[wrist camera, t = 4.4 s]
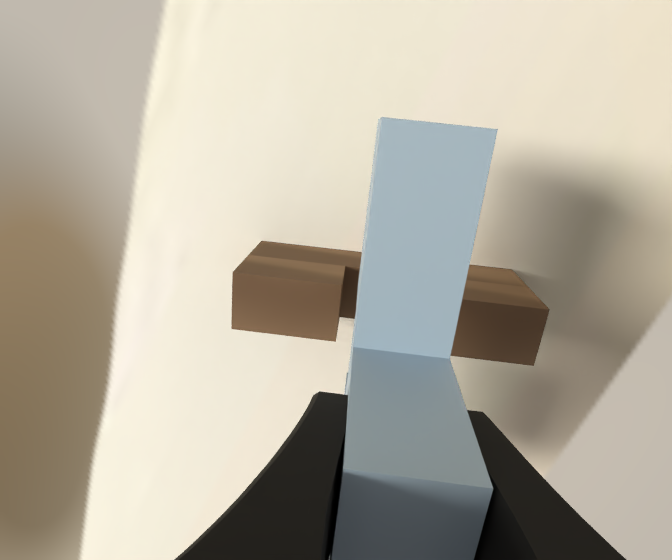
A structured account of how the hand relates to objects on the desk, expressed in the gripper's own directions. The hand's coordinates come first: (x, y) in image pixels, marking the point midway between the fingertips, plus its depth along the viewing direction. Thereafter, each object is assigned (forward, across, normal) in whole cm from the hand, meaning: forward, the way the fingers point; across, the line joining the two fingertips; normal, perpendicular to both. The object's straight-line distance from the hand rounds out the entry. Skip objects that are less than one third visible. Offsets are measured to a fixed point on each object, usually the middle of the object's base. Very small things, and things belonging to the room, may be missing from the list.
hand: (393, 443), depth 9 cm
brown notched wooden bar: (+10, 0, 0) cm, 10 cm away
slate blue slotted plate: (+5, 0, 0) cm, 5 cm away
